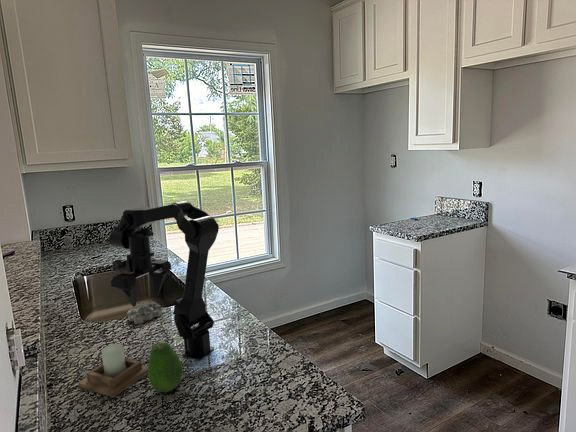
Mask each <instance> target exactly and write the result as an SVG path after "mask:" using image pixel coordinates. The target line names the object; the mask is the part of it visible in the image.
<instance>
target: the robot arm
mask: <svg viewBox="0 0 576 432" xmlns="http://www.w3.org/2000/svg"><path fill="white" fill-rule="evenodd" d="M186 217H188V218H189V219H190V220H189V219H187V218H186ZM167 219H174V220H175V222H176V225H177V228H178V229H179V230H180V231H181V232H182V233H183V235H184V242H185V243H186V245H187V247H188V249H189V250H188V260H187V267H186V273H185V274H186V275H185V283H184V291H183V295H182V297H181V298H179V299H177V300H175V301H174V305H173V312H172V315H173V321H174V324H175V327H176V330H177V333H178V335H179V337H180V338H182V339H183V342H184V343H183V344H184V352H182V356H183V357H188V358H191V359H196V360H199V361H200V360H203V359H204V358H205V357H206V356H207V355H208V354H210V353H211V352H212V351H214V350H215V347H214V346H211V339H210V336H211V335H210V329H212V328H214V323H215V321H214V320H213V318H212V317H211V316H210V314H209V313H208V311H207V310H206V309H207V306H206V305H207V304H206V302H205V300H204V299H203V291H204V284H205V277H206V271H207V270H206V269H207V263H208V259H209V258H208V257H209V251H210V249H211V248H212V246H214V243H215V242H216V240H217V236H218V233H219V231H220V228H219V227H220V226H219V223H217V220H216V219H215V218H214V217H213V216H211V215H209V214H208V212H206V211H205V210H202V209H200V208H199V207H197V206H194V205H193V204H192V203H191V202H189V201H187V200H182V201H177V202H173V203H171V204H167V205H163V206H158V207H151V206H141V207H137V208H136V207H135V208H130V209H125V210H124V211H123V212H122V216H121V218H120V220H119V223H118V224H117V225H114V226H113V230H112V231H111V232H110V234H109V237H108V242H109V244H110V246H112V247H113V248H118V249H126V250H129V254H127V255H126V259H125V260H123V261H122V260H121V259H116V260H114V261H112V262H111V263H112V265H111V267H112V269H113V272H117V273H119V274H116V275H114V276H112V278H111V279H110V286H111V288H116V289H118V290H119V289H120V290H121V291H122V292H123V293H124V294H125V295H126V298H127V299H128V301H129V303H130V304H131V306H132V307H133V308H134V307H136V306H137V302H138V301H137V300H138V288H139V287H138V284H137V280H138V279H139V278H142V277H145V276H147V275H149V276H150V277H151V279H152V285H153V286H152V287H153V292H154V296H159V294H160V291H161V289H162V286H163V284H164V281H165V280H166V279H167V278H166V277H167V275H168V274H169V272H170V271H171V270H172V263H171V262H170V261H169V260H165V259H155V260H152V257H154V256H155V252H154V251H151V242H150V237H152V236H154V232H153V231H152V230H151V229H150V228H149V227H147V226H150V225H152V224H154V223H155V222H157V221H161V220H167ZM144 227H145V228H144ZM124 272H127V273H124Z"/></svg>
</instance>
